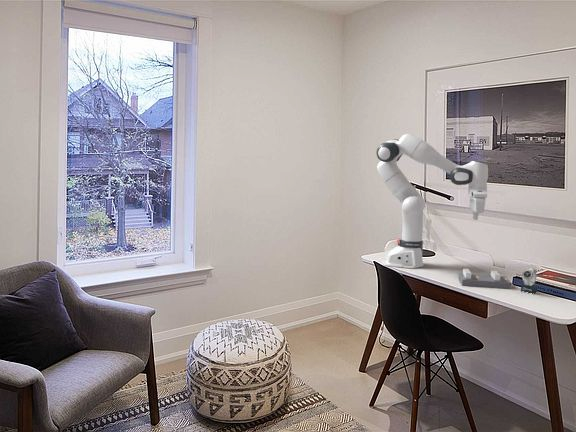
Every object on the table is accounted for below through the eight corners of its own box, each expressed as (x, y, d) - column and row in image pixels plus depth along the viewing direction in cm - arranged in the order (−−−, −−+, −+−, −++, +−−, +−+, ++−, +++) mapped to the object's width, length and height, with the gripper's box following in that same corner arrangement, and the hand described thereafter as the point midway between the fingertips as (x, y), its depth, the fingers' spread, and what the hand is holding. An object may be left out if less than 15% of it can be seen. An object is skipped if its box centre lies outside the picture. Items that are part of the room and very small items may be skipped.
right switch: (494, 280, 233) (495, 274, 232) (490, 275, 241) (491, 270, 241) (500, 280, 232) (500, 275, 232) (495, 276, 241) (496, 270, 240)
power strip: (462, 285, 234) (462, 279, 234) (458, 279, 246) (458, 273, 245) (511, 288, 230) (511, 282, 230) (504, 282, 242) (505, 276, 241)
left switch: (465, 278, 235) (466, 273, 235) (462, 273, 244) (463, 268, 243) (471, 278, 234) (471, 273, 234) (467, 274, 243) (468, 268, 243)
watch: (518, 291, 226) (520, 268, 224) (527, 289, 231) (529, 266, 229) (530, 294, 221) (532, 271, 220) (539, 292, 226) (541, 268, 225)
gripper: (467, 190, 260) (465, 216, 262) (474, 194, 240) (472, 222, 242) (479, 191, 259) (477, 217, 261) (488, 194, 239) (485, 222, 241)
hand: (475, 219), depth 251 cm, fingers closed
